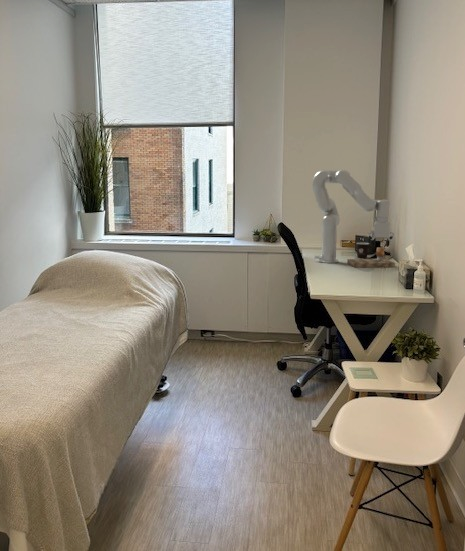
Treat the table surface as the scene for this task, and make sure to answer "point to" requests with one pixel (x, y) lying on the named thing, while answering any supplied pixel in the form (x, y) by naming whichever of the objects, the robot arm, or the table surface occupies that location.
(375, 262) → the board
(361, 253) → the coffee mug
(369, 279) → the table surface
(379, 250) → the awl
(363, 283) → the table surface
